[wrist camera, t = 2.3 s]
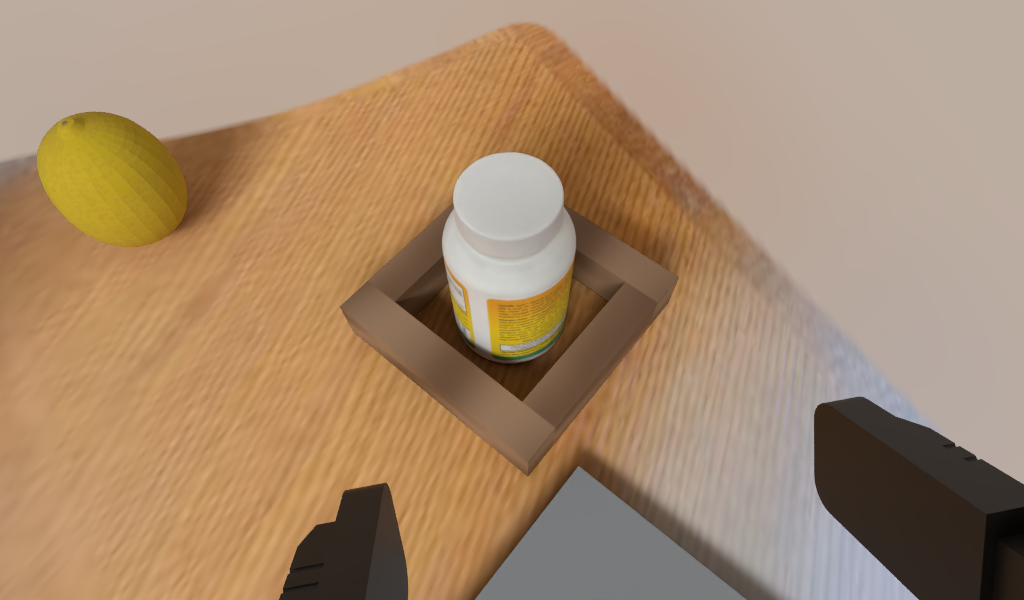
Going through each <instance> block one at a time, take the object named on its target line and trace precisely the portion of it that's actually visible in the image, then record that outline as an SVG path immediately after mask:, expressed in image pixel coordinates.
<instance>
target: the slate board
mask: <svg viewBox="0 0 1024 600" xmlns="http://www.w3.org/2000/svg"><path fill="white" fill-rule="evenodd" d="M475 600H746V599H745V598H744V597H743V596H741V595H740V594H739V593H738V592H736V591H735V590H734V589H733V588H731V587H730V586H729V585H728V584H726V583H725V582H724V581H723V580H721V579H720V578H719V577H718V576H716V575H715V574H714V573H713V572H711V571H710V570H709V569H707V568H706V567H705V566H704V565H702V564H701V563H700V562H699V561H697V560H696V559H695V558H694V557H692V556H691V555H690V554H689V553H687V552H686V551H685V550H684V549H682V548H681V547H680V546H679V545H677V544H676V543H675V542H674V541H672V540H671V539H670V538H669V537H667V536H666V535H665V534H664V533H662V532H661V531H660V530H659V529H657V528H656V527H655V526H653V525H652V524H651V523H650V522H648V521H647V520H646V519H645V518H643V517H642V516H641V515H640V514H638V513H637V512H636V511H635V510H633V509H632V508H631V507H630V506H628V505H627V504H626V503H625V502H623V501H622V500H621V499H620V498H618V497H617V496H616V495H615V494H613V493H612V492H611V491H610V490H608V489H607V488H606V487H605V486H603V485H602V484H601V483H600V482H598V481H597V480H596V479H594V478H593V477H592V476H591V475H589V474H588V473H587V472H586V471H584V470H583V469H582V468H581V467H579V466H578V467H577V469H576V470H575V471H574V473H573V474H572V475H571V476H570V478H569V479H568V480H567V482H566V483H565V484H564V485H563V487H562V488H561V489H560V491H559V492H558V493H557V494H556V496H555V497H554V498H553V500H552V501H551V502H550V503H549V505H548V506H547V507H546V509H545V510H544V511H543V512H542V514H541V515H540V516H539V518H538V519H537V520H536V521H535V523H534V524H533V525H532V527H531V528H530V529H529V531H528V532H527V533H526V534H525V536H524V537H523V538H522V540H521V541H520V542H519V543H518V545H517V546H516V547H515V549H514V550H513V551H512V552H511V554H510V555H509V556H508V558H507V559H506V560H505V561H504V563H503V564H502V565H501V567H500V568H499V569H498V570H497V572H496V573H495V574H494V576H493V577H492V578H491V579H490V581H489V582H488V583H487V585H486V586H485V587H484V589H483V590H482V591H481V592H480V594H479V595H478V596H477V598H476V599H475Z"/></svg>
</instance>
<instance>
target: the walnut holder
mask: <svg viewBox="0 0 1024 600" xmlns="http://www.w3.org/2000/svg"><path fill="white" fill-rule="evenodd" d="M564 208H565V209H566V211H567V212H568V214H569V216H570V218H571V220H572V222H573V225H574V229H575V234H576V251H575V258H574V265H573V272H572V277H573V278H575V279H576V280H578V281H579V282H581V283H582V284H584V285H585V286H587V287H588V288H590V289H591V290H593V291H594V292H596V293H597V294H599V295H600V296H602V297H603V298H605V299H606V300H608V301H609V302H608V303H607V304H606V305H605V306H604V307H603V309H602V310H601V311H600V312H599V313H598V314H597V316H596V317H595V318H594V319H593V320H592V321H591V323H590V324H589V325H588V326H587V327H586V328H585V329H584V331H583V332H582V333H581V334H580V335H579V336H578V338H577V339H576V340H575V341H574V342H573V343H572V345H571V346H570V347H569V348H568V349H567V350H566V352H565V353H564V354H563V355H562V356H561V357H560V358H559V360H558V361H557V362H556V363H555V364H554V365H553V367H552V368H551V369H550V370H549V371H548V372H547V374H546V375H545V376H544V377H543V378H542V379H541V381H540V382H539V383H538V384H537V385H536V386H535V387H534V389H533V390H532V391H531V392H530V393H529V394H528V396H527V397H526V398H525V399H524V400H523V401H520V400H519V399H518V398H517V397H515V396H514V395H513V394H511V393H510V392H509V391H508V390H506V389H505V388H504V387H502V386H501V385H500V384H499V383H497V382H496V381H495V380H494V379H492V378H491V377H490V376H488V375H487V374H486V373H485V372H483V371H482V370H481V369H480V368H478V367H477V366H476V365H474V364H473V363H472V362H471V361H469V360H468V359H467V358H465V357H464V356H463V355H462V354H460V353H459V352H458V351H457V350H455V349H454V348H453V347H451V346H450V345H449V344H448V343H446V342H445V341H444V340H442V339H441V338H440V337H439V336H437V335H436V334H435V333H434V332H432V331H431V330H430V329H428V328H427V327H426V326H425V325H423V324H422V323H421V322H420V321H418V320H417V319H416V318H414V316H415V315H416V314H417V313H418V312H419V311H420V310H422V309H423V308H424V307H425V306H426V305H427V304H428V303H429V302H430V301H431V300H432V299H433V298H434V297H435V296H436V295H437V294H438V293H439V292H440V291H441V290H442V289H443V288H444V287H445V286H446V285H447V284H448V283H449V282H448V278H447V272H446V267H445V262H444V257H443V250H442V236H443V231H444V227H445V224H446V221H447V219H448V217H449V215H450V214H451V212H452V211H453V209H454V204H452V205H451V206H449V207H448V208H447V209H446V210H445V211H444V212H443V213H442V214H441V215H440V216H439V217H437V218H436V219H435V220H434V221H433V222H432V223H431V224H430V225H429V226H428V227H426V228H425V229H424V230H423V231H422V232H421V233H420V234H419V235H418V236H417V237H416V238H414V239H413V240H412V241H411V242H410V243H409V244H408V245H407V246H406V247H405V248H403V249H402V250H401V251H400V252H399V253H398V254H397V255H396V256H395V257H394V258H393V259H391V260H390V261H389V262H388V263H387V264H386V265H385V266H384V267H383V268H382V269H380V270H379V271H378V272H377V273H376V274H375V275H374V276H373V277H372V278H371V279H370V280H368V281H367V282H366V283H365V284H364V285H363V286H362V287H361V288H360V289H359V290H358V291H356V292H355V293H354V294H353V295H352V296H351V297H350V298H349V299H348V300H347V301H345V302H344V303H343V304H342V305H341V306H340V308H341V310H342V312H343V313H344V315H345V317H346V319H347V321H348V323H349V324H350V326H351V328H352V330H353V331H354V332H355V333H356V334H357V335H358V336H360V337H361V338H362V339H363V340H364V341H366V342H367V343H368V344H369V345H370V346H372V347H373V348H374V349H375V350H376V351H378V352H379V353H380V354H381V355H382V356H384V357H385V358H386V359H387V360H388V361H390V362H391V363H392V364H393V365H394V366H396V367H397V368H398V369H399V370H400V371H402V372H403V373H404V374H405V375H406V376H408V377H409V378H410V379H411V380H412V381H414V382H415V383H416V384H417V385H419V386H420V387H421V388H422V389H423V390H425V391H426V392H427V393H428V394H429V395H431V396H432V397H433V398H434V399H435V400H437V401H438V402H439V403H440V404H441V405H443V406H444V407H445V408H446V409H447V410H449V411H450V412H451V413H452V414H453V415H455V416H456V417H457V418H458V419H459V420H461V421H462V422H463V423H464V424H465V425H467V426H468V427H469V428H470V429H471V430H473V431H474V432H475V433H476V434H477V435H479V436H480V437H481V438H482V439H483V440H485V441H486V442H487V443H488V444H489V445H491V446H492V447H493V448H494V449H495V450H497V451H498V452H499V453H500V454H502V455H503V456H504V457H505V458H506V459H508V460H509V461H510V462H511V463H512V464H514V465H515V466H516V467H517V468H518V469H520V470H521V471H522V472H523V473H524V474H526V475H527V476H529V475H530V473H531V472H532V471H533V470H534V468H535V467H536V466H537V465H538V463H539V462H540V461H541V460H542V458H543V457H544V456H545V455H546V453H547V452H548V451H549V450H550V449H551V447H552V446H553V445H554V444H555V442H556V441H557V440H558V439H559V437H560V436H561V435H562V434H563V432H564V431H565V430H566V429H567V428H568V426H569V425H570V424H571V423H572V421H573V420H574V419H575V418H576V416H577V415H578V414H579V413H580V411H581V410H582V409H583V408H584V406H585V405H586V404H587V403H588V402H589V400H590V399H591V398H592V397H593V395H594V394H595V393H596V392H597V390H598V389H599V388H600V387H601V385H602V384H603V383H604V382H605V381H606V379H607V378H608V377H609V376H610V374H611V373H612V372H613V371H614V369H615V368H616V367H617V366H618V364H619V363H620V362H621V361H622V359H623V358H624V357H625V356H626V355H627V353H628V352H629V351H630V350H631V348H632V347H633V346H634V345H635V343H636V342H637V341H638V340H639V338H640V337H641V336H642V335H643V333H644V332H645V331H646V330H647V329H648V327H649V326H650V325H651V324H652V322H653V321H654V320H655V319H656V317H657V316H658V315H659V314H660V312H661V311H662V310H663V309H664V308H665V306H666V305H667V304H668V302H669V299H670V297H671V295H672V292H673V290H674V287H675V285H676V283H677V280H678V278H679V277H678V276H676V275H675V274H673V273H672V272H670V271H668V270H667V269H665V268H664V267H662V266H660V265H659V264H657V263H656V262H654V261H653V260H651V259H649V258H648V257H646V256H645V255H643V254H641V253H640V252H638V251H637V250H635V249H633V248H632V247H630V246H629V245H627V244H626V243H624V242H622V241H621V240H619V239H618V238H616V237H614V236H613V235H611V234H610V233H608V232H606V231H605V230H603V229H602V228H600V227H599V226H597V225H595V224H594V223H592V222H591V221H589V220H587V219H586V218H584V217H583V216H581V215H579V214H578V213H576V212H575V211H573V210H572V209H570V208H568V207H567V206H565V205H564Z"/></svg>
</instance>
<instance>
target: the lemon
mask: <svg viewBox="0 0 1024 600" xmlns="http://www.w3.org/2000/svg"><path fill="white" fill-rule="evenodd" d="M37 170H38V174H39V177H40V179H41V182H42V185H43V187H44V189H45V191H46V193H47V195H48V197H49V198H50V200H51V201H52V203H53V204H54V205H55V206H56V208H57V209H58V210H59V211H60V212H61V213H62V214H63V215H64V216H65V218H66V219H67V220H68V221H69V222H70V223H71V224H73V225H74V226H75V227H76V228H78V229H79V230H80V231H82V232H84V233H85V234H87V235H89V236H91V237H93V238H95V239H97V240H99V241H101V242H104V243H107V244H111V245H116V246H122V247H139V246H144V245H149V244H152V243H155V242H157V241H159V240H162V239H163V238H165V237H166V236H168V235H169V234H171V233H172V232H173V231H174V230H175V229H176V228H177V226H178V225H179V224H180V222H181V221H182V219H183V217H184V214H185V211H186V209H187V201H188V190H187V186H186V182H185V179H184V176H183V173H182V171H181V169H180V167H179V165H178V163H177V162H176V160H175V159H174V157H173V156H172V155H171V154H170V152H169V151H168V150H167V149H166V147H165V146H164V145H163V144H162V143H161V142H160V141H159V140H158V139H157V138H156V137H155V136H153V135H152V134H151V133H150V132H148V131H147V130H146V129H144V128H142V127H141V126H139V125H138V124H136V123H135V122H133V121H131V120H129V119H127V118H124V117H122V116H118V115H115V114H111V113H105V112H85V113H79V114H75V115H72V116H69V117H67V118H64V119H62V120H61V121H59V122H58V123H56V124H55V125H54V126H53V127H52V128H51V129H50V130H49V131H48V132H47V133H46V135H45V136H44V138H43V139H42V141H41V144H40V146H39V149H38V153H37Z"/></svg>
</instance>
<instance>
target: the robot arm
mask: <svg viewBox="0 0 1024 600" xmlns="http://www.w3.org/2000/svg"><path fill="white" fill-rule="evenodd" d="M814 476H815V485H816V489H817V492H818V495H819V497H820V499H821V501H822V503H823V505H824V506H825V508H826V509H827V510H828V512H829V513H830V514H831V515H832V516H833V517H834V518H835V519H836V520H837V521H838V522H839V523H841V524H842V525H843V526H844V527H845V528H846V529H847V530H848V531H849V532H850V533H851V534H852V535H853V536H854V537H855V538H856V539H857V540H858V541H859V542H860V543H861V544H862V545H863V546H864V547H865V548H866V549H867V550H868V551H869V552H870V553H871V554H872V555H873V556H874V557H875V558H877V559H878V560H879V561H880V562H881V563H882V564H883V565H884V566H885V567H886V568H887V569H888V570H889V571H890V572H891V573H892V574H893V575H894V576H895V577H896V578H897V579H898V580H899V581H900V582H901V583H902V584H903V585H904V586H905V587H906V588H907V589H908V590H909V591H910V592H912V593H913V594H914V595H915V596H916V597H917V598H918V599H919V600H1024V484H1022V483H1020V482H1019V481H1017V480H1015V479H1014V478H1012V477H1010V476H1009V475H1007V474H1005V473H1004V472H1002V471H1000V470H999V469H997V468H995V467H994V466H992V465H990V464H989V463H987V462H985V461H984V460H982V459H980V460H977V458H976V456H975V455H974V454H972V453H970V452H968V451H967V450H965V449H964V448H962V447H960V446H959V447H956V446H955V443H954V442H952V441H950V440H949V439H947V438H945V437H944V436H942V435H940V434H939V433H937V432H935V431H934V430H932V429H930V428H928V427H925V426H922V425H919V424H916V423H913V422H910V421H907V420H904V419H901V418H898V417H895V416H894V415H892V414H890V413H889V412H887V411H886V410H884V409H882V408H881V407H879V406H877V405H876V404H874V403H873V402H871V401H869V400H868V399H866V398H864V397H854V398H849V399H844V400H838V401H833V402H827V403H822V404H820V405H818V406H817V408H816V410H815V414H814ZM279 600H408V576H407V567H406V560H405V555H404V550H403V546H402V541H401V537H400V532H399V528H398V523H397V519H396V514H395V510H394V505H393V501H392V496H391V492H390V489H389V486H388V484H387V483H382V484H377V485H371V486H366V487H361V488H355V489H350V490H345V491H344V493H343V496H342V499H341V503H340V507H339V510H338V514H337V517H336V521H335V522H330V523H324V524H319V525H316V526H315V527H314V529H313V530H312V531H311V532H310V533H309V534H308V535H307V537H306V538H305V539H304V540H303V541H302V542H301V543H300V545H299V546H298V547H297V550H296V553H295V556H294V559H293V561H292V564H291V567H290V574H288V576H287V579H286V581H285V584H284V587H283V594H281V596H280V599H279Z"/></svg>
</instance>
